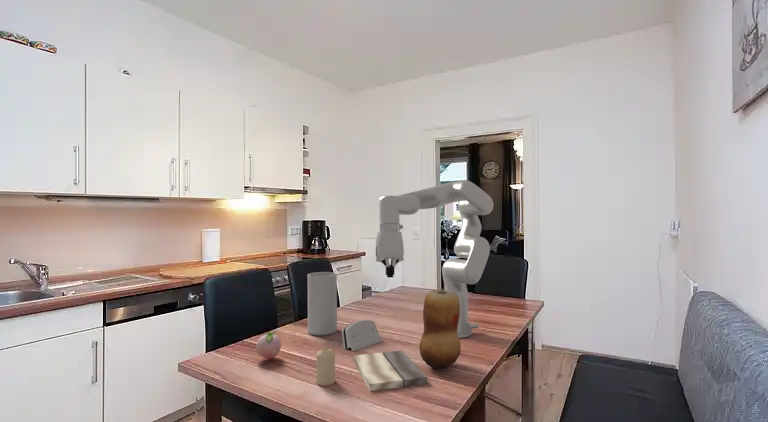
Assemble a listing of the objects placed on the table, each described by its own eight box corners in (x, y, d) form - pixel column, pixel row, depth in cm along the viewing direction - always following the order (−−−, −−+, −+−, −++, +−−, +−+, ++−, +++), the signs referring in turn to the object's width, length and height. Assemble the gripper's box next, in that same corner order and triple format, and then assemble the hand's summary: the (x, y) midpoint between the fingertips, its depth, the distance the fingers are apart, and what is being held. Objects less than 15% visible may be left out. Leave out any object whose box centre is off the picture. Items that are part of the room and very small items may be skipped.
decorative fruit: (255, 357, 139) (255, 329, 140) (279, 354, 142) (279, 326, 142) (257, 366, 131) (256, 336, 131) (282, 363, 134) (282, 333, 134)
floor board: (401, 356, 139) (401, 350, 139) (427, 383, 116) (427, 376, 116) (383, 358, 137) (383, 352, 137) (404, 386, 114) (404, 379, 114)
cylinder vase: (302, 334, 166) (301, 275, 166) (317, 326, 178) (317, 271, 178) (327, 337, 161) (327, 277, 162) (342, 329, 173) (341, 272, 173)
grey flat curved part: (352, 351, 144) (345, 324, 147) (344, 353, 147) (338, 326, 150) (383, 340, 156) (376, 315, 159) (375, 342, 159) (369, 317, 162)
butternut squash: (451, 378, 120) (450, 296, 120) (412, 369, 127) (412, 292, 127) (467, 363, 131) (466, 289, 132) (431, 356, 139) (430, 285, 139)
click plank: (381, 358, 137) (381, 352, 137) (402, 386, 114) (402, 380, 114) (353, 361, 134) (353, 355, 134) (369, 391, 111) (369, 384, 111)
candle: (317, 378, 120) (317, 346, 121) (335, 377, 121) (335, 345, 121) (315, 386, 115) (315, 352, 115) (334, 385, 115) (334, 351, 116)
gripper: (405, 227, 153) (405, 274, 152) (368, 228, 149) (368, 276, 148) (411, 228, 145) (412, 277, 145) (372, 229, 141) (373, 279, 141)
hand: (390, 276), depth 147 cm, fingers closed
